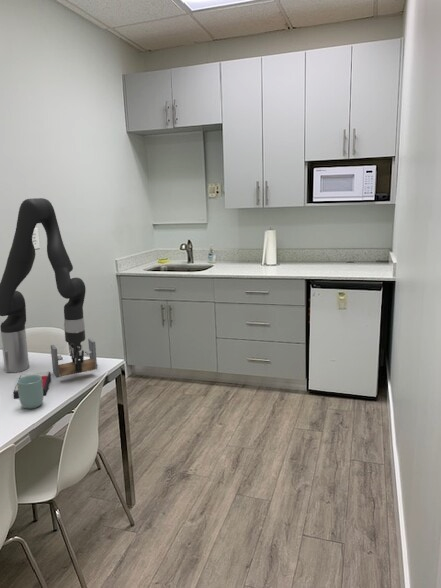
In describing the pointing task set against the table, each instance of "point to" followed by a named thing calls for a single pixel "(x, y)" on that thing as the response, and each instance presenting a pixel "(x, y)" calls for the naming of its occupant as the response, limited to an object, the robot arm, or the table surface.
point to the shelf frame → (55, 358)
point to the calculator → (45, 379)
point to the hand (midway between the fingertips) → (77, 369)
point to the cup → (30, 391)
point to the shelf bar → (71, 368)
